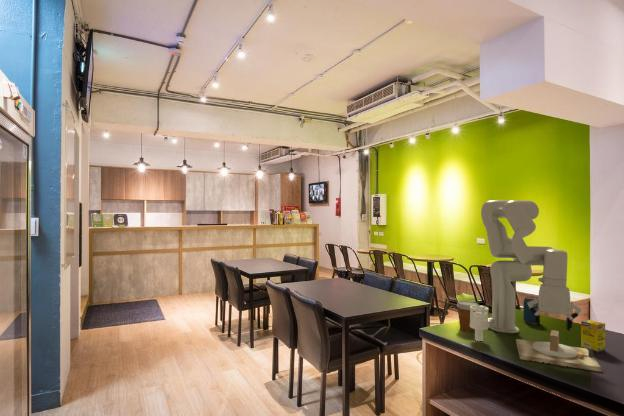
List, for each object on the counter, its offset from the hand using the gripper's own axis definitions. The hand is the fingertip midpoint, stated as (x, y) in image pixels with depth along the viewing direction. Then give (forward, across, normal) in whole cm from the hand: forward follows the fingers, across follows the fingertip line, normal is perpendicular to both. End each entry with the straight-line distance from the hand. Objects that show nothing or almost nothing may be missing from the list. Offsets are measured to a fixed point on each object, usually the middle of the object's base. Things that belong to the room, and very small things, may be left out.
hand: (552, 327), depth 142 cm
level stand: (+10, +1, -1) cm, 10 cm away
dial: (+8, +1, -1) cm, 9 cm away
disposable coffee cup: (+12, -30, +19) cm, 38 cm away
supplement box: (+11, +16, +14) cm, 23 cm away
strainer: (+11, -25, +4) cm, 28 cm away
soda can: (+12, -2, +47) cm, 48 cm away
